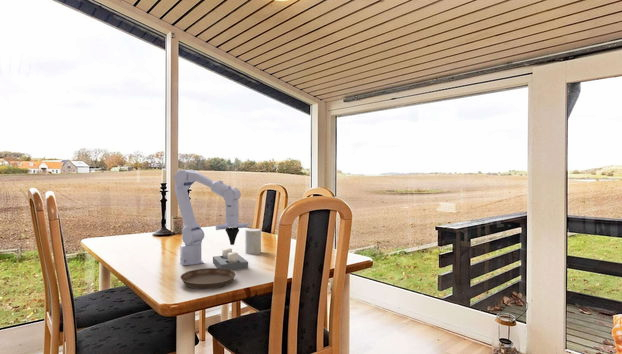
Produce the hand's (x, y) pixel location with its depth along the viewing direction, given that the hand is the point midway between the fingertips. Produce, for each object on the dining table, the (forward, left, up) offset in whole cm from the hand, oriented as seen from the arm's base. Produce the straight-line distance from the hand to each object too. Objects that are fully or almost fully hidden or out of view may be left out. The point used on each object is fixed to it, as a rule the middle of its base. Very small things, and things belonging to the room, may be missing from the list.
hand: (232, 244), depth 169 cm
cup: (+17, +22, -10) cm, 30 cm away
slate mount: (-1, +1, -10) cm, 10 cm away
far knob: (-1, +6, -7) cm, 9 cm away
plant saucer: (-15, -20, -10) cm, 27 cm away
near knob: (-1, -4, -7) cm, 8 cm away
